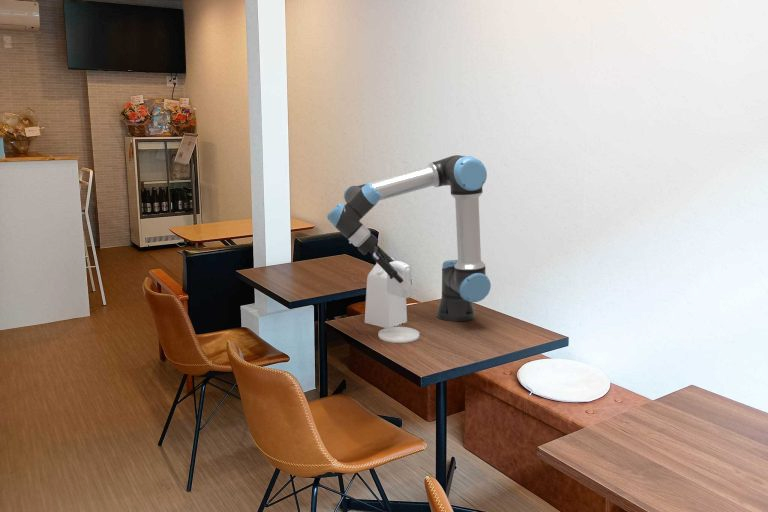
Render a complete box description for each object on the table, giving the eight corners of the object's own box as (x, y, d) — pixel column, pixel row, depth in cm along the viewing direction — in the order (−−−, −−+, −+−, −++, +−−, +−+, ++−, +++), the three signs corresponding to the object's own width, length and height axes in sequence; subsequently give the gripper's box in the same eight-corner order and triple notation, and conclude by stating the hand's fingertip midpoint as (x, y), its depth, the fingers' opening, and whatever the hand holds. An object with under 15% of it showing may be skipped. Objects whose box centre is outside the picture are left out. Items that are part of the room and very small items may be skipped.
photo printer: (385, 293, 238) (385, 260, 235) (394, 291, 241) (394, 258, 238) (403, 299, 230) (404, 264, 228) (413, 297, 233) (413, 263, 230)
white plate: (418, 330, 247) (418, 327, 247) (420, 343, 232) (420, 340, 232) (378, 329, 247) (378, 326, 247) (377, 342, 232) (377, 339, 232)
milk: (407, 321, 257) (407, 256, 252) (388, 328, 248) (389, 261, 243) (383, 316, 264) (383, 252, 259) (364, 322, 256) (364, 257, 250)
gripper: (358, 242, 243) (400, 284, 246) (354, 253, 221) (400, 299, 224) (372, 228, 242) (414, 270, 245) (370, 238, 220) (416, 284, 223)
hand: (408, 284), depth 235 cm, fingers closed on photo printer, 9 cm apart
